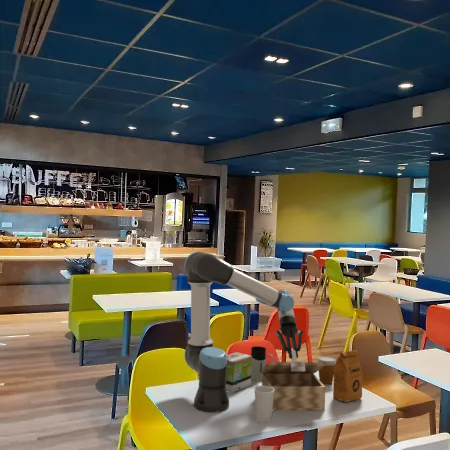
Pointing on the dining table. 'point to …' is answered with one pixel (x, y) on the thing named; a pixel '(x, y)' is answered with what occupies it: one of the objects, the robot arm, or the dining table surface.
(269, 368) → the box lid
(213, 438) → the dining table surface
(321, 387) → the wooden box
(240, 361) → the tea box
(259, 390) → the cup
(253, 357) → the glass holder
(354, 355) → the coffee package
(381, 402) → the dining table surface
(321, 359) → the disposable coffee cup
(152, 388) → the dining table surface
